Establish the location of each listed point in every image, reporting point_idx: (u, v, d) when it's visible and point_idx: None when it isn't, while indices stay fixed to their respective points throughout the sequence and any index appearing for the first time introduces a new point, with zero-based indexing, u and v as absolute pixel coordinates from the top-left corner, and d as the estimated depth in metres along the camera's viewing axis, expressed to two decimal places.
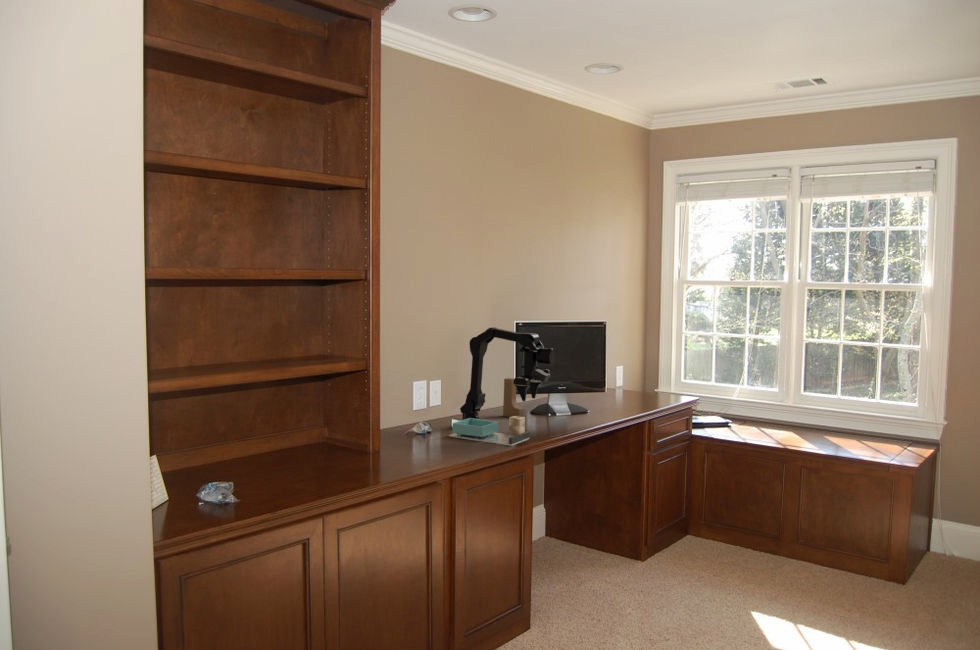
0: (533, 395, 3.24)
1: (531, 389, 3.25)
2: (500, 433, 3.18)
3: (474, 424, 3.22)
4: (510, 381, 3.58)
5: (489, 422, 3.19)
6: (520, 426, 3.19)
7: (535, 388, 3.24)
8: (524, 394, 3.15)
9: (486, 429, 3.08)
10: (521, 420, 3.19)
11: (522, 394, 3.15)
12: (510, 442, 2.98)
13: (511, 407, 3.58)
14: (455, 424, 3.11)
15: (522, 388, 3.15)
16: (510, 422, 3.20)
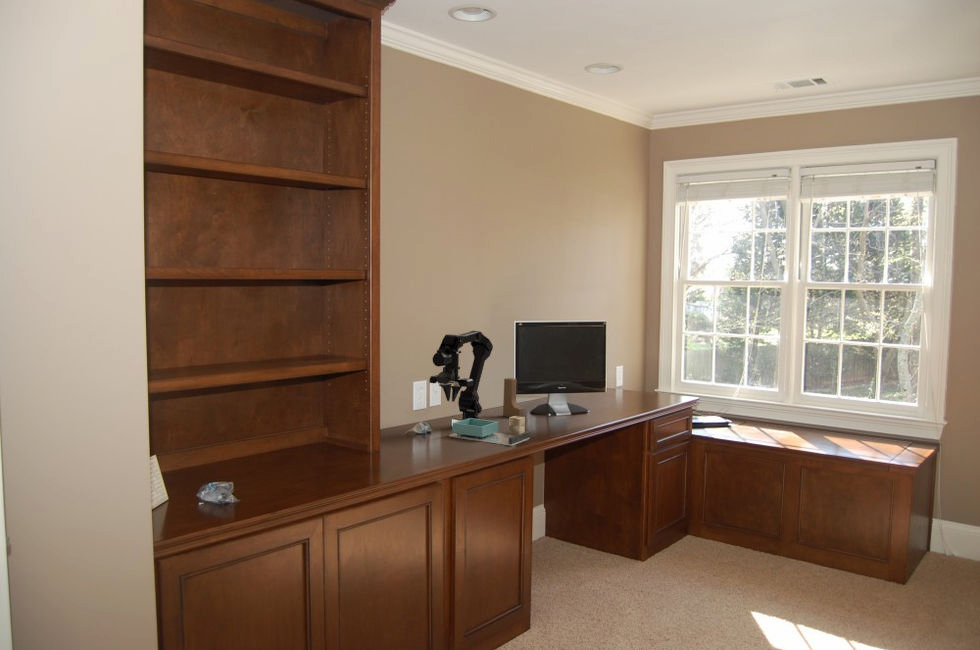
0: None
1: None
2: (500, 433, 3.18)
3: (474, 424, 3.22)
4: (510, 381, 3.58)
5: (489, 422, 3.19)
6: (520, 426, 3.19)
7: None
8: None
9: (486, 429, 3.08)
10: (521, 420, 3.19)
11: None
12: (510, 442, 2.98)
13: (511, 407, 3.58)
14: (455, 424, 3.11)
15: None
16: (510, 422, 3.20)
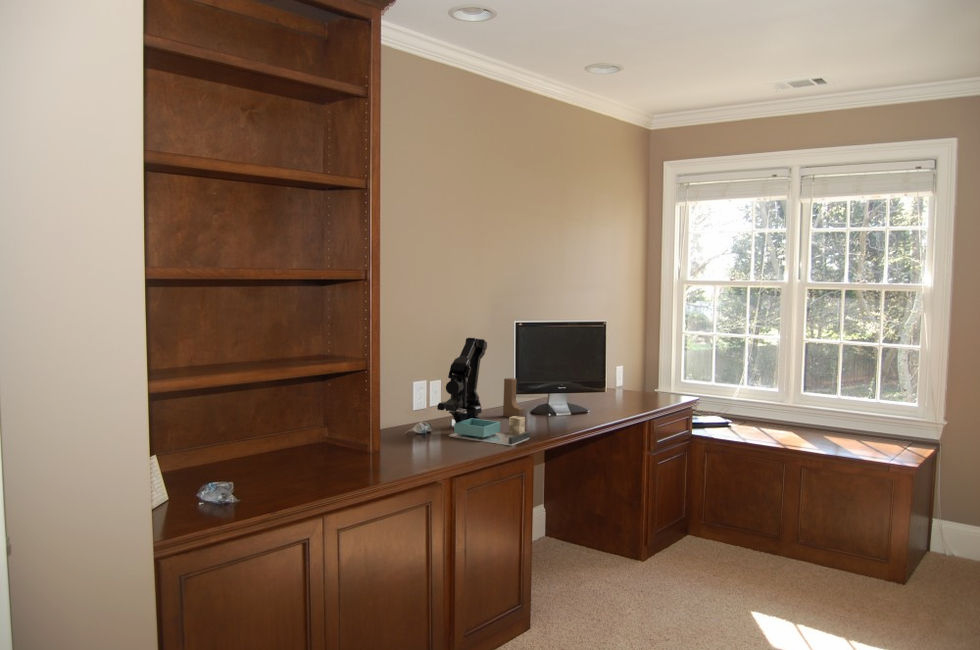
0: None
1: None
2: (500, 433, 3.18)
3: (476, 424, 3.22)
4: (510, 381, 3.58)
5: (491, 422, 3.18)
6: (520, 426, 3.19)
7: None
8: None
9: (488, 430, 3.08)
10: (521, 420, 3.19)
11: None
12: (510, 442, 2.98)
13: (511, 407, 3.58)
14: (457, 424, 3.11)
15: None
16: (510, 422, 3.20)
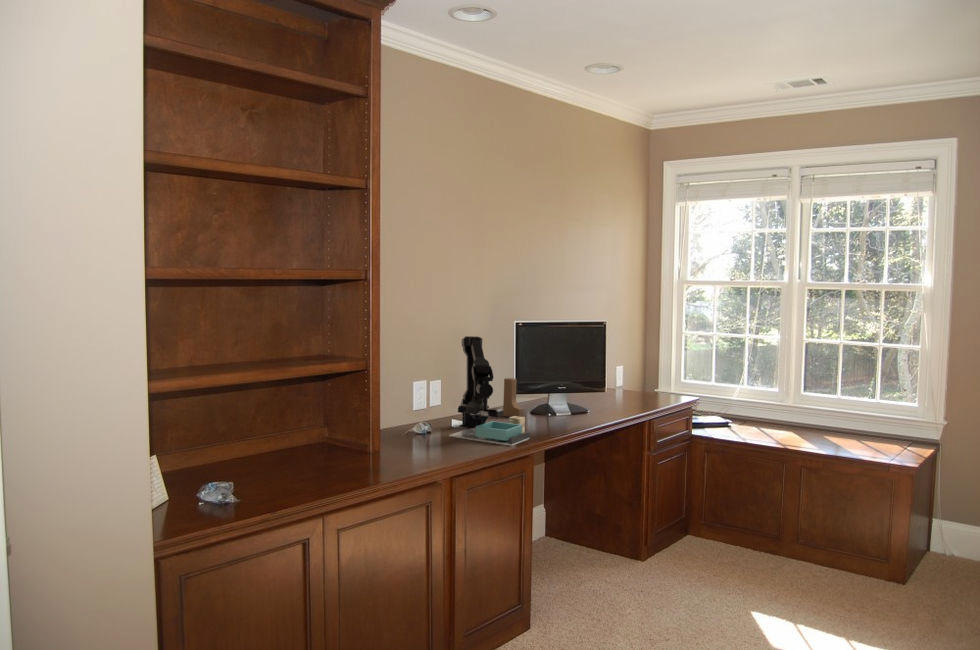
0: None
1: None
2: None
3: (497, 427, 3.17)
4: (510, 381, 3.58)
5: (512, 425, 3.13)
6: None
7: None
8: None
9: (510, 433, 3.03)
10: (521, 420, 3.19)
11: None
12: (510, 442, 2.98)
13: (511, 407, 3.58)
14: (478, 427, 3.06)
15: None
16: (510, 422, 3.20)
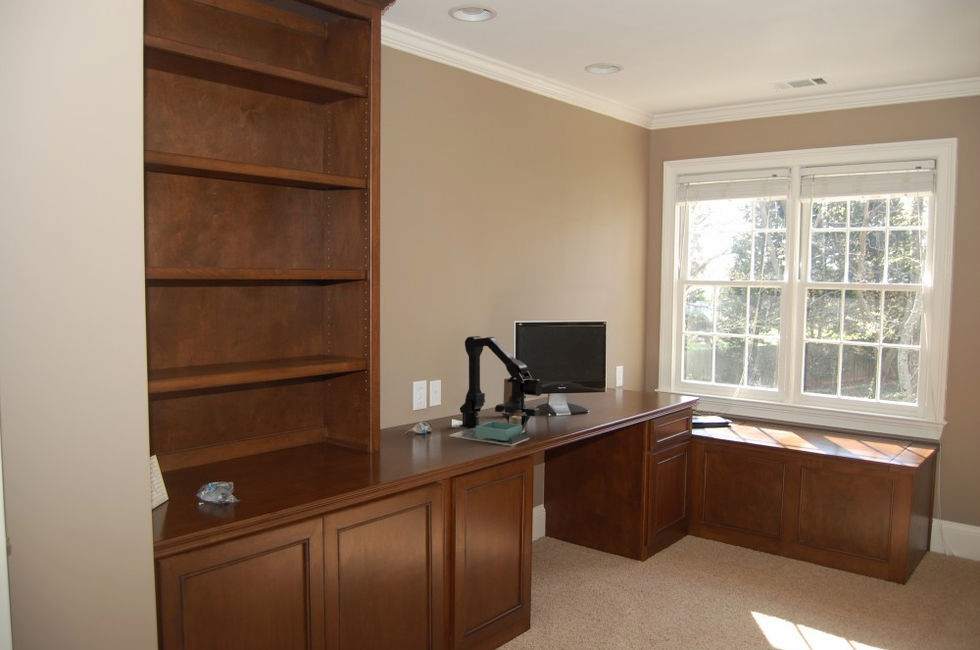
0: None
1: None
2: None
3: (497, 427, 3.17)
4: None
5: (512, 425, 3.13)
6: None
7: None
8: None
9: (510, 433, 3.03)
10: (521, 420, 3.19)
11: None
12: (510, 442, 2.98)
13: None
14: (478, 427, 3.06)
15: None
16: (510, 422, 3.20)
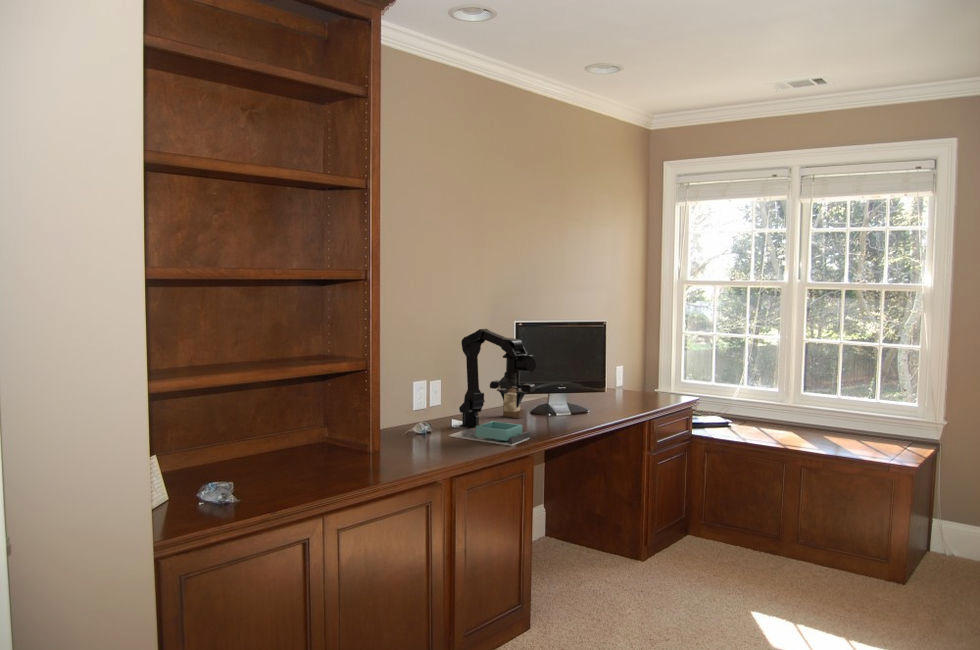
0: None
1: None
2: None
3: (497, 427, 3.17)
4: None
5: (512, 425, 3.13)
6: (516, 402, 3.15)
7: None
8: None
9: (510, 433, 3.03)
10: (516, 396, 3.15)
11: None
12: (510, 442, 2.98)
13: None
14: (478, 427, 3.06)
15: None
16: (505, 398, 3.15)
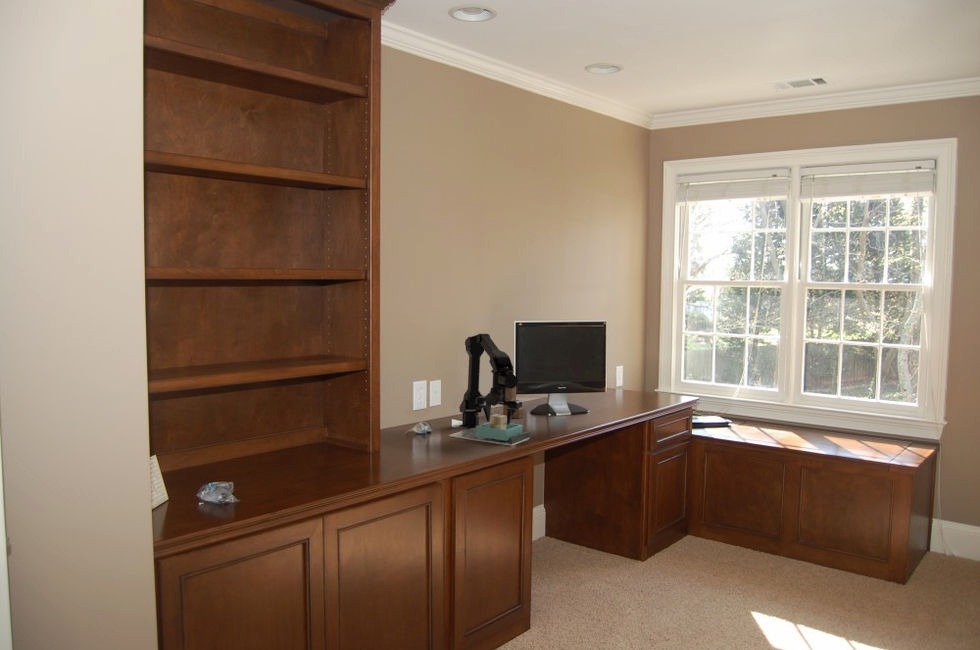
0: None
1: None
2: None
3: None
4: None
5: (513, 425, 3.13)
6: (502, 425, 3.07)
7: None
8: None
9: (510, 433, 3.03)
10: (502, 418, 3.07)
11: None
12: (510, 442, 2.98)
13: None
14: (479, 427, 3.06)
15: None
16: (491, 421, 3.08)
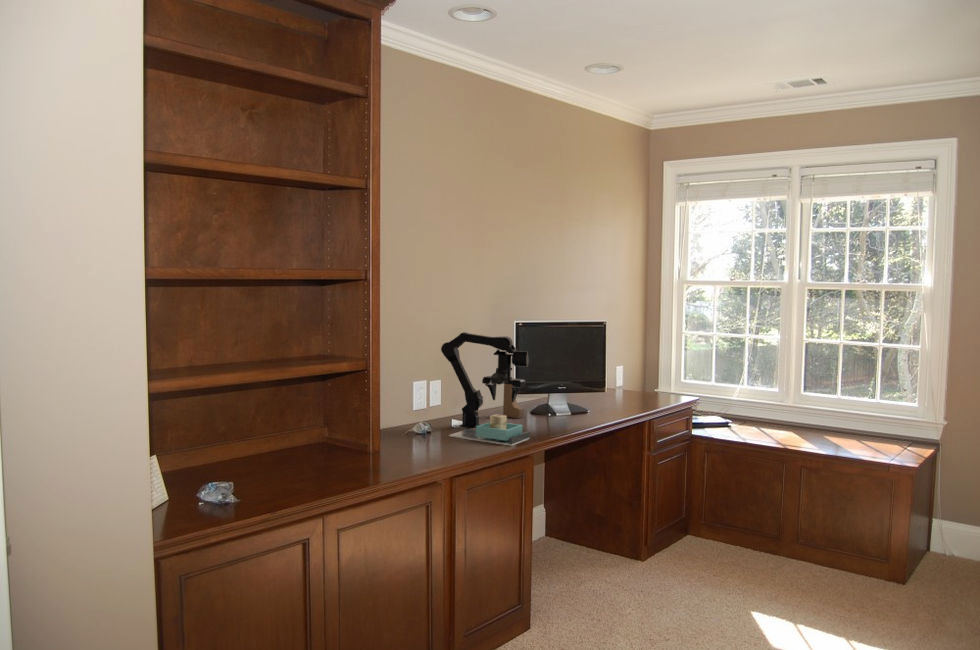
0: None
1: None
2: None
3: None
4: None
5: (513, 425, 3.13)
6: (502, 425, 3.07)
7: None
8: None
9: (510, 433, 3.03)
10: (502, 418, 3.07)
11: None
12: (510, 442, 2.98)
13: (511, 407, 3.58)
14: (479, 427, 3.06)
15: None
16: (491, 421, 3.08)
